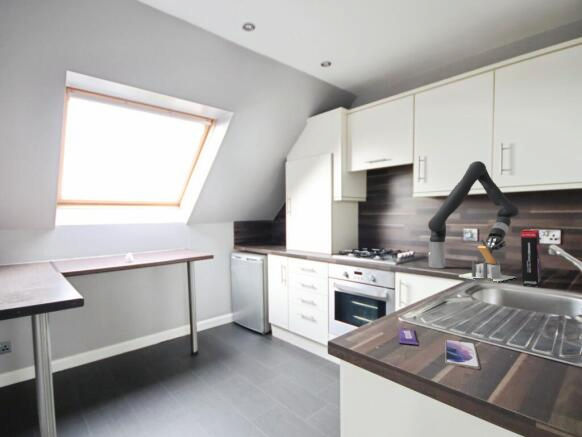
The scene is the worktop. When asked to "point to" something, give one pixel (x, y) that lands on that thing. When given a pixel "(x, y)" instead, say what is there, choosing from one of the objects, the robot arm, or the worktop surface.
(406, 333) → the snack package
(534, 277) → the graphics card box
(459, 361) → the smartphone
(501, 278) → the heatsink board
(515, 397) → the worktop surface
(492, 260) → the retention strap
